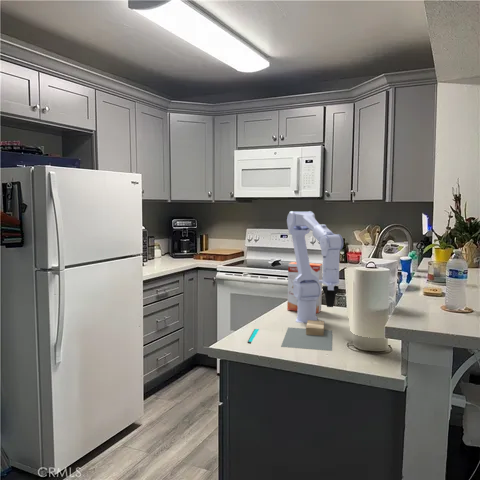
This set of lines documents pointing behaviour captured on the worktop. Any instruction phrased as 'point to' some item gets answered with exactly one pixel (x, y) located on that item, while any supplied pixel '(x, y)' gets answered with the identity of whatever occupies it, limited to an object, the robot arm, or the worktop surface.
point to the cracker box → (292, 274)
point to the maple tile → (315, 327)
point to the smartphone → (253, 335)
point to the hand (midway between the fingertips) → (330, 306)
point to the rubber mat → (307, 340)
